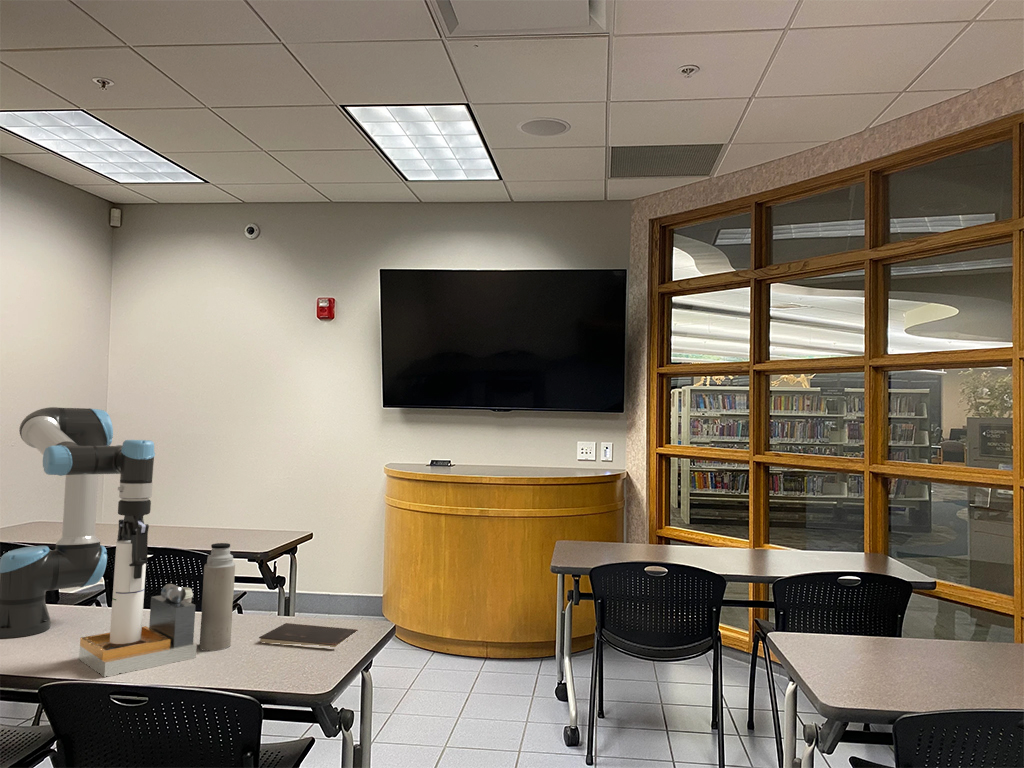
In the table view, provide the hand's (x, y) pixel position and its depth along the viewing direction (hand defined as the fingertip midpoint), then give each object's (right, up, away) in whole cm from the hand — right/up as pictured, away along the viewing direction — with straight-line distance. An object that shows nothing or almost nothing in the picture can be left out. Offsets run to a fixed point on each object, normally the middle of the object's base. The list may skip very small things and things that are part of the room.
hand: (129, 588), depth 183 cm
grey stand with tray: (+2, -18, 0) cm, 18 cm away
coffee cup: (0, -20, +25) cm, 32 cm away
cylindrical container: (0, -13, -1) cm, 13 cm away
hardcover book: (+40, -22, +22) cm, 51 cm away
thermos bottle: (+17, -20, +12) cm, 29 cm away
